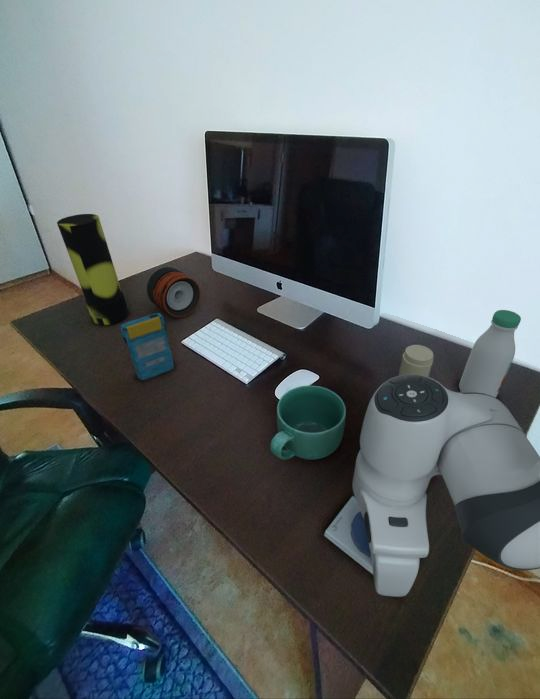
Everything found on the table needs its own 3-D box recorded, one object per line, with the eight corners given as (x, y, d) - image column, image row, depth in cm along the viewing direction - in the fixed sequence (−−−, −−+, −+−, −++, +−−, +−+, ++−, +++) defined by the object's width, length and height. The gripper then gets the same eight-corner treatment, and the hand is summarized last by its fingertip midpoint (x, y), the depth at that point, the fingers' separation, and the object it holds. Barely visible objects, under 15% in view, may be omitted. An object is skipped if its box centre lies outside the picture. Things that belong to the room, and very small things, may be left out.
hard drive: (324, 531, 57) (399, 590, 50) (352, 494, 62) (425, 544, 55) (323, 536, 58) (397, 595, 51) (351, 500, 63) (422, 549, 56)
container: (85, 319, 114) (48, 221, 97) (116, 305, 121) (85, 211, 103) (105, 330, 109) (69, 228, 91) (136, 314, 116) (107, 217, 98)
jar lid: (361, 505, 60) (362, 500, 59) (403, 528, 56) (405, 523, 55) (343, 541, 55) (343, 536, 54) (387, 568, 52) (388, 563, 51)
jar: (429, 395, 82) (440, 359, 76) (403, 400, 81) (412, 363, 75) (415, 378, 87) (425, 342, 81) (391, 381, 86) (398, 346, 80)
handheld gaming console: (172, 361, 96) (160, 311, 87) (178, 369, 93) (166, 318, 84) (135, 374, 92) (118, 324, 83) (140, 384, 89) (123, 332, 80)
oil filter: (167, 324, 110) (158, 284, 103) (148, 309, 118) (138, 272, 110) (203, 308, 117) (197, 270, 109) (183, 295, 125) (176, 259, 117)
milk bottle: (487, 409, 78) (522, 330, 67) (451, 391, 83) (478, 315, 71) (501, 391, 82) (537, 314, 71) (467, 375, 87) (495, 301, 75)
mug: (309, 409, 80) (310, 375, 75) (355, 442, 72) (360, 408, 67) (249, 451, 72) (246, 417, 66) (294, 494, 64) (294, 460, 58)
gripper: (355, 421, 56) (347, 475, 65) (374, 562, 40) (359, 611, 48) (397, 423, 56) (384, 477, 64) (434, 567, 39) (409, 615, 48)
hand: (373, 536), depth 56 cm, fingers closed on jar lid, 7 cm apart
